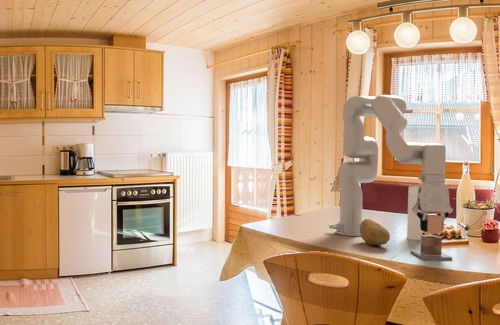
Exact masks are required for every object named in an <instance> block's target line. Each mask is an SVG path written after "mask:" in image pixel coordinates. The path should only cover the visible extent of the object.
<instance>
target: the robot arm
mask: <svg viewBox="0 0 500 325" xmlns="http://www.w3.org/2000/svg"><path fill="white" fill-rule="evenodd" d="M342 107H343V108H342V120H343V136H342V137H343V139H342V144H343V145H342V146H343V147H342V150H343V151H342V153H343V155H344V156H345V157H346V158H348V159H361V161H357V160H356V161H355V160H353V161H345V162H343V163H341V164H340V166H339V168H338V170H337V171H338V181H339V192H340V194H339V201H340V202H339V203H340V204H339V206H340V207H339V221H337V223H335V224H334V223H330V224H329V223H328V229H330V230H331V229H332V230H335V233H336V234H338V235H341V236H348V237H358V236H359V237H361V234H360V225H361V222H362V221H363V197H364V196H363V190H362V188H361V186H360V184H367V183H368V184H369V183H372V182H374V181H375V180H376V178H377V175H378V168H379V167H378V166H379V145H378V142H377V141H376V140H375V138H373V137H370V136H365V134H364V132H365V127H364V126H365V125H364V123H363V121H362V119H361V117H367V118H368V117H370V118H377V119H378V121H379V122H380V124H381V125H382V127H383V128H384V130H385V131H386V133H385V143H386V147H387V149H388V151H389V153H390V154H391V155H392V157H393V158H394V159H395V160H396V161H397V162H398V163H400V164H405V165H412V164H413V165H421V174H420V175H419V176H417V178H418V181H419V180H420V182H419V185H418V186H419V188H418V194H417V203H416V204H415V205H414V207H413V208H412V209H411V210H412V212H414V213H415V214H416V215H417V216H418V217H419V219H420V228H421V231H423V232H424V233H426V232H427V220H426V217H427V214H429V213H436V214H438V215H441V216H443V229H442V233H443V230H444V228H445V227H444V222H445V221H446V219H447V218H448V216H449V215H450V214H452V213H453V211H454V209H453V208H452V206H451V204H450V192H449V186H448V183H446V160H447V159H446V158H447V156H446V155H447V151H446V150H447V149H446V145H444V144H443V143H419V142H406V141H405V140H404V138H403V137H402V135H401V132H403V131H404V130H405V129H406V127H407V126H408V120H407V118H406V117H405V115H404V114H405V113H406V111H407V103H406V101H405V99H403V97H401V96H399V95H398V96H397V95H391V94H390V95H388V94H381V95H376V96H368V95H367V96H366V95H354V96H350V97H349V98H348V99H346V100H345V103H344V104H343V106H342ZM418 210H421V212H419V211H418Z"/></svg>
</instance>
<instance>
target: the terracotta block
mask: <svg viewBox="0 0 500 325" xmlns="http://www.w3.org/2000/svg"><path fill="white" fill-rule="evenodd" d="M426 220H427V232H425V233H426V234H443V232H442V229H443V230H444V228H443V216H441V215H438V214H437V213H428V214H427V217H426Z"/></svg>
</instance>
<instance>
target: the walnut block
mask: <svg viewBox="0 0 500 325" xmlns="http://www.w3.org/2000/svg"><path fill="white" fill-rule="evenodd" d="M442 241H443V240H442V237H440V236H438V235H436V234H423V235H421V241H420V250H421V252H422V253H424V254H426V255H441V252H442V246H443V245H442V244H443V242H442Z"/></svg>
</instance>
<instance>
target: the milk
mask: <svg viewBox="0 0 500 325" xmlns="http://www.w3.org/2000/svg"><path fill="white" fill-rule="evenodd" d="M418 188H419V185H417V186H415V185H414V186H413V185H409V186H408V195H407V227H406V228H407V229H406V230H407V231H406V240H409V241H420V242H421V235H424V234H423V232H424V231H421V228H420V219H419V217H418V216H417V215H416V214H415V213H414V212H412V210H411V209H412V208H413V207H414V205H415V204H416V203H417V194H418ZM418 211H419V212H421V210H418Z"/></svg>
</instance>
